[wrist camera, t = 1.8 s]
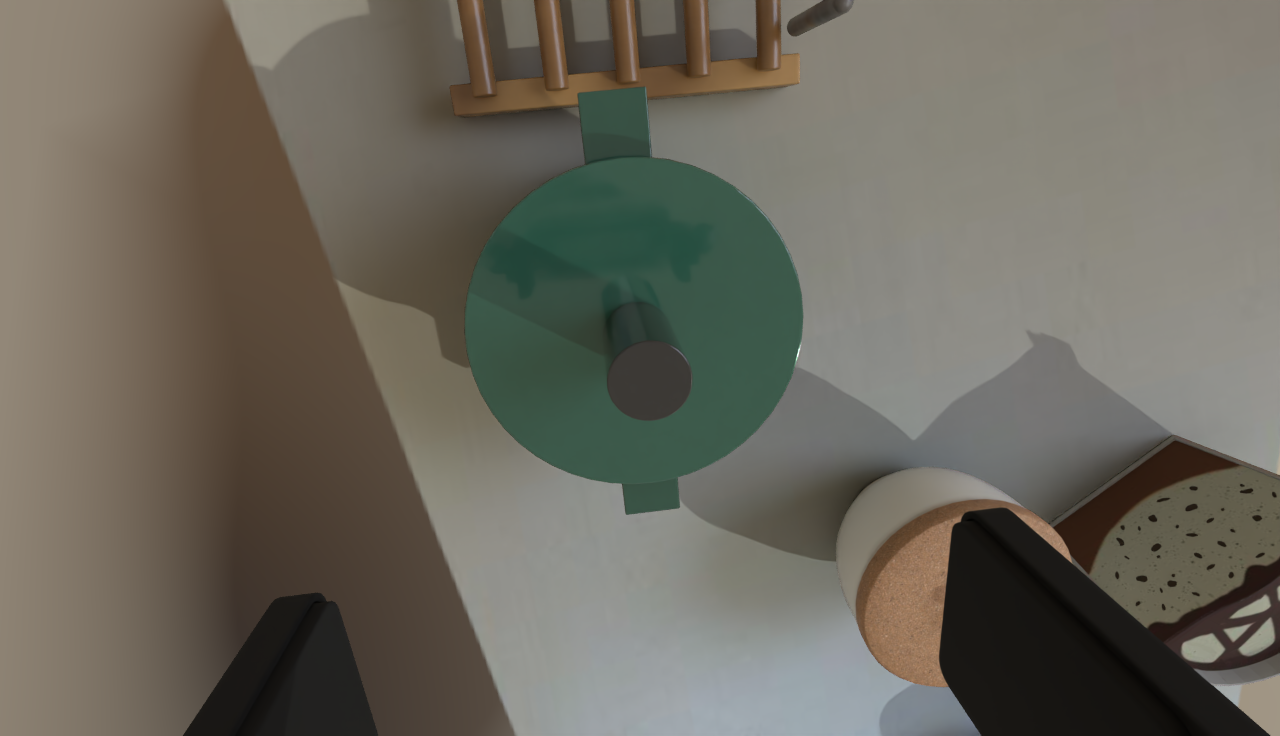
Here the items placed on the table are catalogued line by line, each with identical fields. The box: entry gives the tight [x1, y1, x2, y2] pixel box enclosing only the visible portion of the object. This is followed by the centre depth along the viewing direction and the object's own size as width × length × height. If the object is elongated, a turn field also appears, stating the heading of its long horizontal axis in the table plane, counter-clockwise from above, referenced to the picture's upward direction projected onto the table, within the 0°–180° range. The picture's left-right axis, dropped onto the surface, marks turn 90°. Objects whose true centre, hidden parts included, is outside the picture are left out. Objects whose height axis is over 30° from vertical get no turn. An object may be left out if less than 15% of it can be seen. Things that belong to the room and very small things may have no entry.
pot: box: [577, 86, 680, 515], centre depth 28 cm, size 12×17×8 cm
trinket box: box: [836, 467, 1072, 687], centre depth 34 cm, size 11×11×9 cm
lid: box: [464, 156, 803, 484], centre depth 22 cm, size 13×13×6 cm
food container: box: [1049, 435, 1280, 686], centre depth 35 cm, size 12×6×10 cm, turn 132°
